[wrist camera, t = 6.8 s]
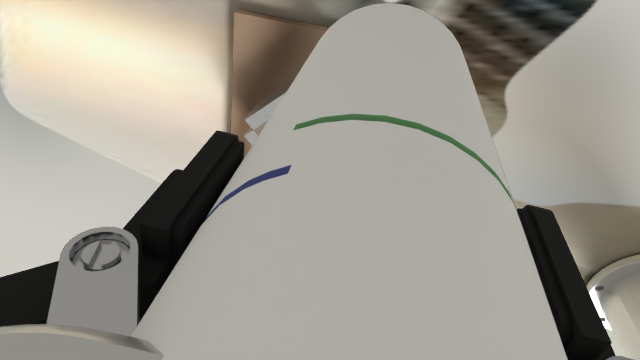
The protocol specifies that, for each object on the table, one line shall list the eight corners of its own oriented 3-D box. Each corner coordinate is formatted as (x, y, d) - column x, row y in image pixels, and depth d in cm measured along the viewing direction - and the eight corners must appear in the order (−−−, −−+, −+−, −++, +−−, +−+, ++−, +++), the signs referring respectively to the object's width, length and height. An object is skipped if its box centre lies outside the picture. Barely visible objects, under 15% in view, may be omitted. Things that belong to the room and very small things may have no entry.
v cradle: (457, 53, 37) (463, 73, 33) (403, 209, 47) (403, 240, 43) (238, 9, 38) (217, 23, 34) (233, 170, 49) (216, 197, 44)
